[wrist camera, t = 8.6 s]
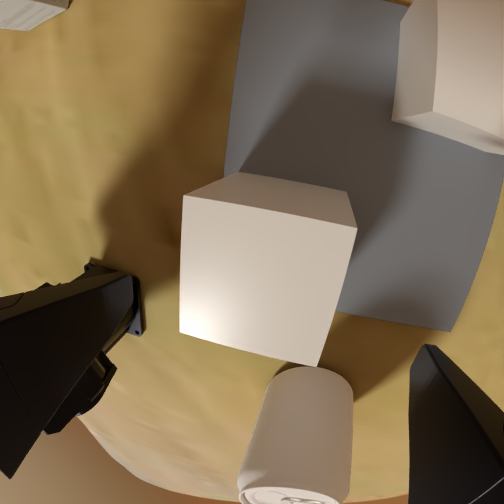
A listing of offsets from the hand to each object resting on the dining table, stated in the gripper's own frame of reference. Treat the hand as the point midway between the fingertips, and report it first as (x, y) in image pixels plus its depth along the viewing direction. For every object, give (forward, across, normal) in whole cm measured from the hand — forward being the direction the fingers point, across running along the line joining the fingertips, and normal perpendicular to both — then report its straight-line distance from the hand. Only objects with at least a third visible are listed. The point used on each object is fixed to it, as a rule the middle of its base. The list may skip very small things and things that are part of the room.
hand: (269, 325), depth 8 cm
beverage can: (+13, -4, +16) cm, 22 cm away
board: (+13, -4, -4) cm, 15 cm away
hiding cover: (+12, -8, -10) cm, 18 cm away
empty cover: (+12, +1, +2) cm, 12 cm away
